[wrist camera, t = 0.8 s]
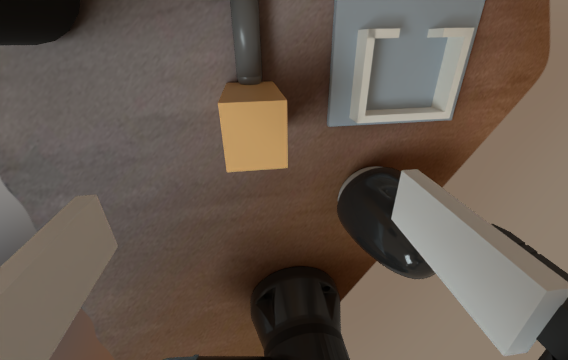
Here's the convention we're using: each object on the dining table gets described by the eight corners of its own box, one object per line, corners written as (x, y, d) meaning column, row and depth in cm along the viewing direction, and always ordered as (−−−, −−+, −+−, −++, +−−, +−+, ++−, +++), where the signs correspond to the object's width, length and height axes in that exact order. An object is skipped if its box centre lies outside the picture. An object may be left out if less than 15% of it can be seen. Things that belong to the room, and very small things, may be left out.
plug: (274, 129, 32) (287, 167, 22) (232, 132, 31) (226, 172, 21) (268, -34, 24) (285, -84, 15) (213, -35, 24) (193, -88, 14)
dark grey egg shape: (405, 152, 36) (502, 218, 22) (390, 215, 40) (463, 301, 27) (332, 156, 34) (389, 228, 21) (326, 221, 39) (369, 313, 26)
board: (447, 118, 34) (466, 125, 31) (326, 124, 32) (335, 132, 29) (501, -79, 25) (534, -95, 22) (339, -85, 23) (353, -104, 21)
